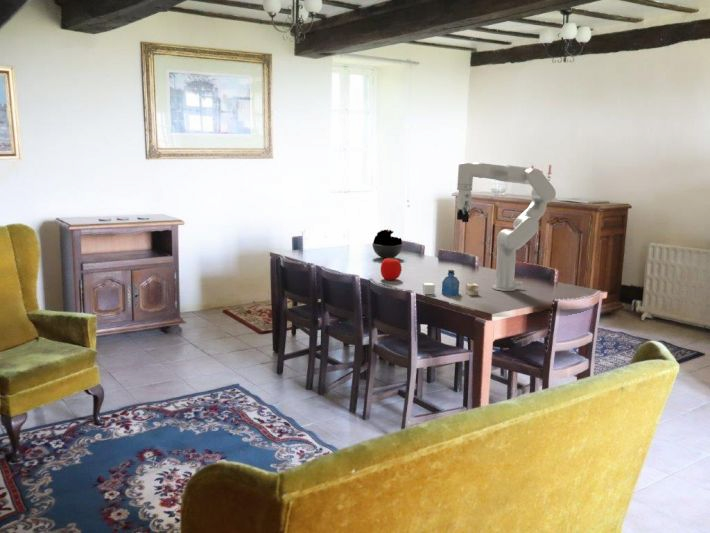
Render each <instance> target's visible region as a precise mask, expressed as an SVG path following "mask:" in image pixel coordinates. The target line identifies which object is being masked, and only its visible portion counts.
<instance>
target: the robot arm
mask: <svg viewBox="0 0 710 533" xmlns="http://www.w3.org/2000/svg"><path fill="white" fill-rule="evenodd" d="M457 172H458V173H457V184H456V185H457V186H456V187H457V188H456V191H458V193H457V201H456V202H457V203H456V204H457V205H456V206H457V212H456V213H457V216H456V220H457V221H461V222H463V223H469V218H470V210H471V209H472V191H473V182H474V178H478V179H490V180H495V181H500V182H504V183H514V184H520V185H521V184H523V185H529V186H531V188H532V189H531V202H530V204H529V206H528V207H527V208H526V209H525V210H524V211H522V213H520V214H519V215H518V216H517V217H516V218H515V219H514V221H513V225H512V227H513V229H511V228H504V229H502V230H500V231H499V232H498V233H497V236H496V249H497V250H496V251H497V252H496V269H495V282H494V284H492V286H491V287H492V289H493V290H496V291H502V292H513V291H516V290H517V286H523V285H524V283H523V281H516V280H515V274H516V273H515V272H516V271H515V268H516V258H517V257H516V255H517V252H516V251H517V250H519V249H521V248H522V247H523V246H525V245H526V243H527V242H529V241H530V240H531V238H533V237H534V236H535V235H536V233H537V232H538V230H539V226H540V225H539V222H538V221H539V220H541V218H542V217H543V216H544V214H545V213H546V211H547V205H548V203H550V202H553V201H554V199H555V198H556V195H557V193H556V190H555V188H554V186H553V185H552V184H551V182H550V181H549V179H548V177H547V176H546V175H545V174H544V173H543V172H542V171H541V170H540V169H539V168H535V167H534V168H533V167H528V166H527V167H525V166H517V165H510V164H494V163H492V164H491V163H485V162H472V163H471V162H459V164H458V171H457Z"/></svg>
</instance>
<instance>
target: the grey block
mask: <svg viewBox="0 0 710 533" xmlns="http://www.w3.org/2000/svg"><path fill="white" fill-rule="evenodd" d="M435 285H436V284H434V282H423V283H422V293H423V295H425V294H436V292H435V291H436V286H435Z"/></svg>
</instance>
